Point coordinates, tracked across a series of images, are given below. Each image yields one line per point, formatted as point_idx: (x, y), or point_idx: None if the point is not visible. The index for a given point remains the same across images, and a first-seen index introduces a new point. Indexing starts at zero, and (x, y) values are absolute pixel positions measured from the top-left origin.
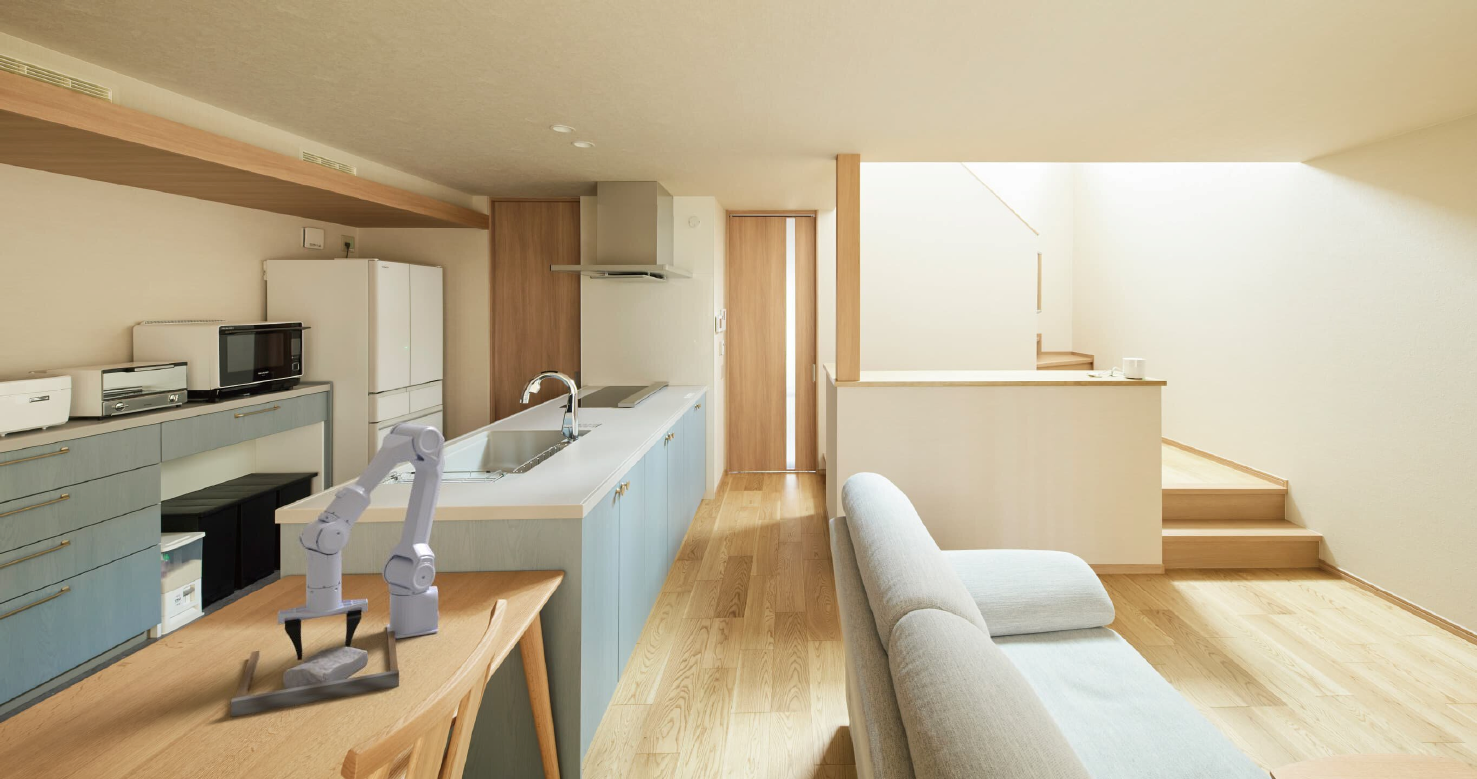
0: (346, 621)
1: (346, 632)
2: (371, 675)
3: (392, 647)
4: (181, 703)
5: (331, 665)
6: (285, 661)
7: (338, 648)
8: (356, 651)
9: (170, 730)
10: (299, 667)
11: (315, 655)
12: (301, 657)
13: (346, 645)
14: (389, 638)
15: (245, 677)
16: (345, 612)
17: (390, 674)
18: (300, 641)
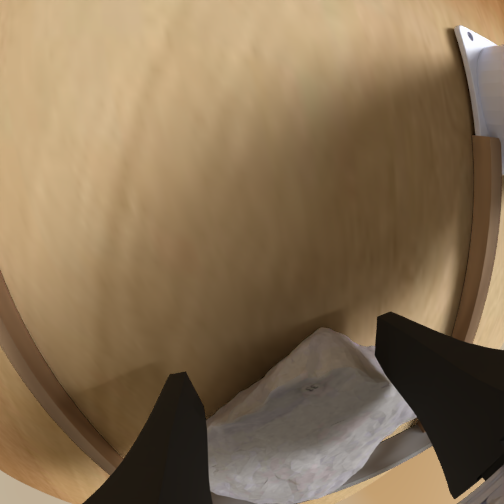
0: (471, 407)
1: (429, 379)
2: (398, 463)
3: (482, 297)
4: (23, 438)
5: (333, 490)
6: (96, 296)
7: (362, 409)
8: (408, 413)
9: (86, 490)
10: (244, 494)
11: (263, 414)
12: (203, 416)
13: (393, 381)
14: (491, 214)
15: (74, 437)
16: (487, 486)
17: (424, 450)
18: (211, 497)
